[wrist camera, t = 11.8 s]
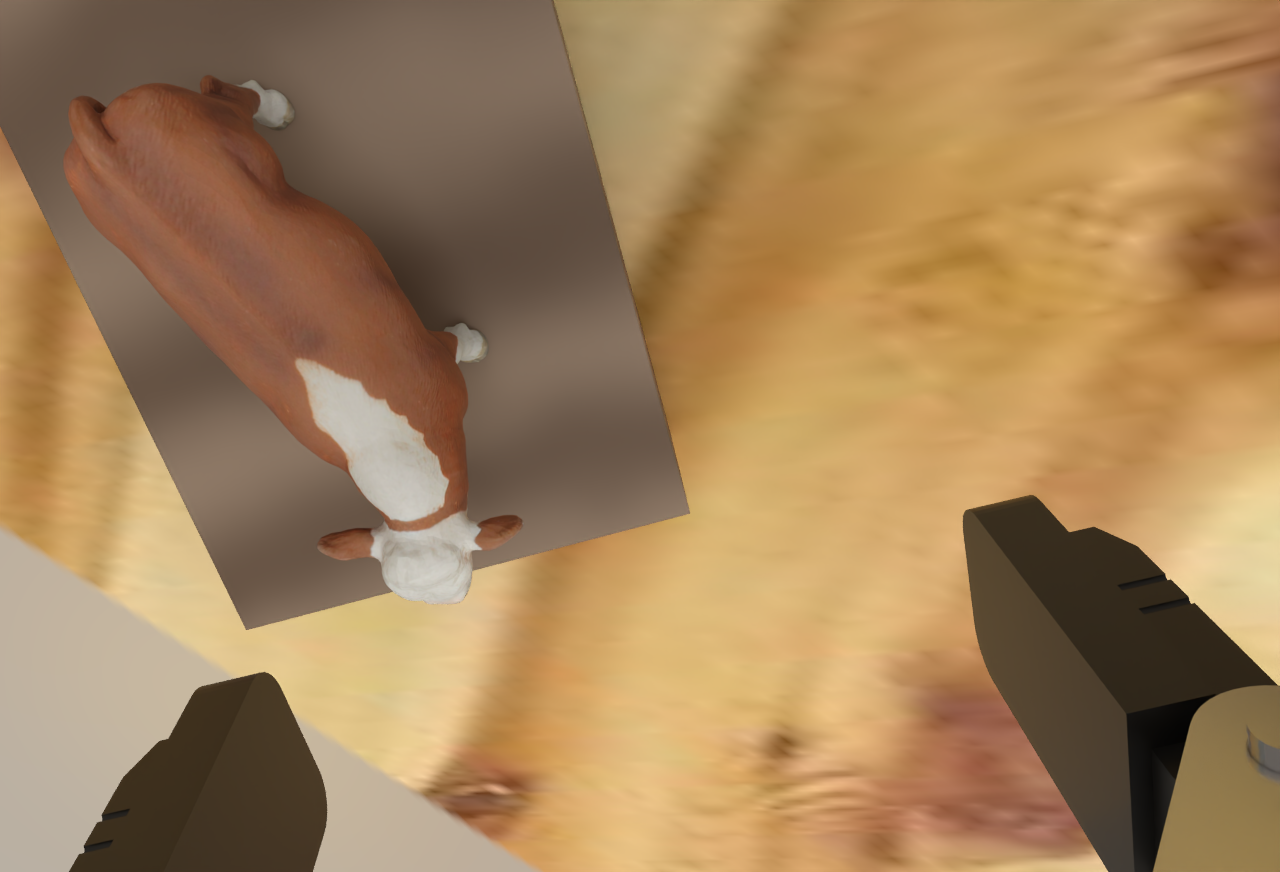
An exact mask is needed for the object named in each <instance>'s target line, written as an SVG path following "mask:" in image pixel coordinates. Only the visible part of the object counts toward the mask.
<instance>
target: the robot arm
mask: <svg viewBox="0 0 1280 872" xmlns="http://www.w3.org/2000/svg"><path fill="white" fill-rule="evenodd" d="M963 533H964V541H965V550H966V558H967V566H968V574H969V583H970V591H971V599H972V607H973V616H974V623H975V630H976V635H977V639H978V643H979V646H980V650H981V653H982V656H983V659H984V662H985V664H986V667H987V669H988V672H989V674H990V676H991V678H992V680H993V682H994V683H995V685H996V687H997V688H998V690H999V692H1000V693H1001V695H1002V697H1003V698H1004V700H1005V702H1006V703H1007V705H1008V706H1009V708H1010V710H1011V711H1012V713H1013V715H1014V716H1015V718H1016V720H1017V721H1018V723H1019V725H1020V726H1021V728H1022V730H1023V731H1024V733H1025V735H1026V736H1027V738H1028V740H1029V741H1030V743H1031V745H1032V746H1033V748H1034V749H1035V751H1036V753H1037V754H1038V756H1039V758H1040V759H1041V761H1042V763H1043V764H1044V766H1045V768H1046V769H1047V771H1048V773H1049V774H1050V776H1051V778H1052V779H1053V781H1054V783H1055V784H1056V786H1057V788H1058V789H1059V791H1060V792H1061V794H1062V796H1063V797H1064V799H1065V801H1066V802H1067V804H1068V806H1069V807H1070V809H1071V811H1072V812H1073V814H1074V816H1075V817H1076V819H1077V821H1078V822H1079V824H1080V826H1081V827H1082V829H1083V830H1084V832H1085V834H1086V835H1087V837H1088V839H1089V840H1090V842H1091V844H1092V845H1093V847H1094V849H1095V850H1096V852H1097V854H1098V855H1099V857H1100V859H1101V860H1102V862H1103V864H1104V865H1105V867H1106V869H1107V870H1108V872H1280V686H1278V685H1277V684H1276V683H1275V682H1274V681H1273V680H1272V679H1271V678H1270V677H1269V676H1268V675H1267V674H1266V673H1265V672H1264V671H1263V670H1262V669H1261V668H1260V667H1259V666H1258V665H1257V664H1256V663H1255V662H1254V661H1253V660H1252V659H1251V658H1250V657H1249V656H1248V655H1247V654H1246V653H1245V652H1244V651H1243V650H1242V649H1241V648H1240V647H1239V646H1238V645H1237V644H1236V643H1235V642H1234V641H1232V640H1231V639H1230V638H1229V637H1228V636H1227V635H1226V634H1225V633H1224V632H1223V631H1222V630H1221V629H1220V628H1219V627H1218V626H1217V625H1216V624H1215V623H1214V622H1213V621H1212V620H1211V619H1210V618H1209V617H1208V616H1207V615H1206V614H1205V613H1204V612H1203V611H1202V610H1201V609H1200V608H1199V607H1198V606H1197V605H1196V604H1195V603H1193V604H1191V603H1190V601H1189V597H1188V596H1187V595H1186V594H1185V593H1184V592H1183V591H1182V590H1181V589H1180V588H1179V587H1178V586H1177V585H1176V584H1175V583H1174V582H1173V581H1172V580H1167V579H1166V576H1165V573H1164V572H1163V571H1162V570H1161V569H1160V568H1159V567H1158V566H1157V565H1156V564H1155V563H1154V562H1153V561H1152V560H1151V559H1150V558H1149V557H1148V556H1147V555H1146V554H1145V553H1144V552H1143V551H1142V550H1141V549H1140V548H1139V547H1137V546H1136V545H1133V544H1131V543H1129V542H1127V541H1125V540H1122V539H1120V538H1118V537H1116V536H1113V535H1111V534H1109V533H1107V532H1105V531H1102V530H1100V529H1098V528H1096V527H1091V528H1087V529H1082V530H1078V531H1074V532H1068V531H1067V530H1066V528H1065V527H1064V526H1063V525H1062V524H1061V523H1060V522H1059V521H1058V520H1057V519H1056V517H1055V516H1054V515H1053V514H1052V513H1051V512H1050V511H1049V510H1048V509H1047V508H1046V507H1045V505H1044V504H1043V503H1042V502H1041V501H1040V500H1039V499H1038V498H1037V497H1035V496H1034V495H1029V496H1024V497H1020V498H1016V499H1011V500H1007V501H1003V502H999V503H994V504H990V505H986V506H981V507H977V508H973V509H969V510H966V511H965V512H964V515H963ZM326 821H327V800H326V792H325V787H324V783H323V779H322V776H321V774H320V771H319V769H318V767H317V765H316V763H315V760H314V759H313V756H312V754H311V752H310V750H309V747H308V745H307V743H306V741H305V739H304V737H303V734H302V733H301V730H300V728H299V726H298V724H297V722H296V719H295V717H294V715H293V713H292V711H291V709H290V706H289V704H288V702H287V700H286V698H285V696H284V694H283V691H282V689H281V687H280V685H279V684H278V682H277V681H276V679H275V678H274V677H273V676H272V675H270V674H269V673H266V672H262V673H257V674H253V675H249V676H244V677H240V678H236V679H231V680H227V681H223V682H219V683H215V684H210V685H206V686H202V687H200V688H198V689H197V690H196V691H195V692H194V693H193V695H192V696H191V699H190V700H189V702H188V704H187V705H186V707H185V709H184V711H183V713H182V715H181V717H180V718H179V720H178V722H177V724H176V726H175V728H174V729H173V731H172V733H171V735H170V737H169V739H166V740H162V741H159V742H158V743H157V744H156V745H155V746H154V747H153V748H152V749H151V750H150V751H149V752H148V753H147V754H146V755H145V756H144V757H143V758H142V759H141V760H140V761H139V762H138V763H137V764H136V765H135V766H134V767H133V768H132V769H131V770H130V771H129V772H128V773H127V774H126V775H125V776H124V777H123V779H122V780H121V782H120V784H119V786H118V787H117V789H116V791H115V792H114V794H113V796H112V798H111V799H110V801H109V803H108V805H107V806H106V808H105V810H104V812H103V813H102V822H98V823H97V824H96V826H95V827H94V829H93V831H92V833H91V835H90V836H89V838H88V840H87V841H86V843H85V845H84V848H85V852H84V853H83V854H79V855H78V857H77V859H76V860H75V862H74V864H73V866H72V867H71V869H70V871H69V872H313V869H314V866H315V862H316V859H317V856H318V852H319V848H320V845H321V842H322V839H323V836H324V832H325V828H326Z"/></svg>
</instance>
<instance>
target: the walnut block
mask: <svg viewBox="0 0 1280 872" xmlns="http://www.w3.org/2000/svg"><path fill="white" fill-rule="evenodd" d="M206 75H211V76H213V77H215V78H217V79H219V80H221V81H222V82H225V83H230V84H232V85H242V84H244V83H246V82H248V81H250V80H254V81H256V82H257V83H258V84H259V85H260V86H261V87H262V88H263V89H264V90H270V89H273V90H276V91H278V92H280V93H282V94H283V95H285V96H286V97H287V98H288V99H289V101H290V102H291V103H292V105H293V107H294V111H295V117H294V120H293V121H292V122H291V123H290V124H289V125H288V126H287V127H286V128H285V129H283V130H281V131H276V130H272V129H270V128H268V127H266V126H265V125H262V124H260V123H259V122H258V121H257V120H256V119H255V118H252V120H253V124H254V130H255V131H256V132H257V133H259V134H260V135H261V136H262V137H263V138H264V139H265V140H266V141H267V142H268V143H269V144H270V146H271V147H272V149H273V150H274V152H275V154H276V155H277V157H278V159H279V161H280V163H281V166H282V168H283V173H284V177H285V180H286V182H287V183H288V184H289V185H290V186H291V187H293V188H294V189H296V190H298V191H300V192H301V193H303V194H305V195H307V196H309V197H312V198H315V199H317V200H319V201H321V202H323V203H325V204H327V205H328V206H330V207H332V208H334V209H335V210H337V211H339V212H340V213H342V214H343V215H345V216H346V217H348V218H349V219H350V220H351V221H353V222H354V223H355V224H356V225H357V226H358V227H359V228H360V229H361V230H362V231H363V232H364V233H365V234H366V235H367V236H368V237H369V238H370V240H371V241H372V242H373V244H374V245H375V246H376V248H377V249H378V251H379V252H380V253H381V255H382V257H383V258H384V260H385V262H386V263H387V265H388V267H389V268H390V270H391V272H392V274H393V276H394V278H395V280H396V282H397V284H398V285H399V287H400V288H401V290H402V291H403V293H404V294H405V296H406V297H407V299H408V300H409V302H410V303H411V305H412V307H413V308H414V310H415V312H416V313H417V315H418V317H419V318H420V320H421V322H422V324H423V325H424V327H425V329H427V330H430V331H444V329H445V328H446V327H454V326H456V325H457V324H459V323H463V324H466V326H467V327H468V329H469V330H472V329H474V330H479V331H480V332H481V333H483V334H484V335H485V336H486V338H487V340H488V345H489V351H488V354H487V356H486V357H485V358H484V359H482V360H481V361H479V362H474V363H466V362H462V361H459V363H458V364H457V365H458V367H459V368H460V370H461V372H462V374H463V377H464V380H465V383H466V388H467V393H468V408H467V411H466V414H465V416H464V418H463V431H464V434H465V439H466V458H467V473H468V482H469V489H468V496H467V508H468V509H467V517H468V519H469V520H471V521H474V522H480V521H484V520H487V519H489V518H492V517H497V516H502V515H517V516H518V517H519V518H521V519H522V520H523V523H524V525H523V526H522V528H521V530H520V531H519V532H518V533H517V534H516V535H515V536H514V537H513V538H512V539H510V540H509V541H507V542H506V543H504V544H503V545H501V546H500V547H498V548H496V549H493V550H490V551H481V550H473V551H472V564H473V568H472V571H473V570H477V569H481V568H484V567H488V566H492V565H496V564H500V563H503V562H507V561H511V560H515V559H519V558H522V557H526V556H530V555H534V554H538V553H541V552H545V551H549V550H553V549H557V548H560V547H564V546H568V545H572V544H576V543H579V542H583V541H587V540H591V539H595V538H599V537H602V536H606V535H610V534H614V533H618V532H621V531H625V530H629V529H633V528H637V527H640V526H644V525H648V524H652V523H656V522H659V521H663V520H667V519H671V518H675V517H678V516H682V515H686V514H690V511H689V507H688V503H687V499H686V495H685V491H684V487H683V483H682V478H681V474H680V470H679V466H678V462H677V458H676V454H675V450H674V446H673V442H672V438H671V434H670V430H669V426H668V423H667V419H666V415H665V412H664V408H663V404H662V401H661V397H660V393H659V389H658V386H657V382H656V378H655V375H654V371H653V367H652V364H651V360H650V356H649V352H648V349H647V345H646V341H645V338H644V334H643V330H642V327H641V323H640V319H639V315H638V312H637V308H636V304H635V301H634V297H633V293H632V289H631V286H630V282H629V278H628V275H627V271H626V267H625V264H624V260H623V256H622V252H621V249H620V245H619V241H618V238H617V234H616V230H615V227H614V223H613V219H612V215H611V212H610V208H609V204H608V201H607V197H606V193H605V190H604V186H603V182H602V178H601V175H600V171H599V167H598V164H597V160H596V156H595V152H594V149H593V145H592V141H591V138H590V134H589V130H588V127H587V123H586V119H585V115H584V112H583V108H582V104H581V101H580V97H579V93H578V90H577V86H576V82H575V78H574V75H573V71H572V67H571V64H570V60H569V56H568V53H567V49H566V45H565V41H564V38H563V34H562V30H561V27H560V23H559V19H558V15H557V12H556V8H555V4H554V1H553V0H0V127H1V129H2V131H3V133H4V135H5V137H6V139H7V141H8V143H9V145H10V147H11V149H12V151H13V153H14V155H15V157H16V159H17V161H18V164H19V166H20V168H21V170H22V172H23V174H24V176H25V178H26V180H27V182H28V184H29V186H30V188H31V190H32V192H33V194H34V196H35V198H36V200H37V202H38V204H39V207H40V209H41V211H42V213H43V215H44V217H45V219H46V221H47V223H48V225H49V227H50V229H51V231H52V233H53V235H54V237H55V239H56V241H57V243H58V245H59V247H60V250H61V252H62V254H63V256H64V258H65V260H66V262H67V264H68V266H69V268H70V270H71V272H72V274H73V276H74V278H75V280H76V282H77V284H78V286H79V288H80V290H81V293H82V295H83V297H84V299H85V301H86V303H87V305H88V307H89V309H90V311H91V313H92V315H93V317H94V319H95V321H96V323H97V325H98V327H99V329H100V331H101V333H102V336H103V338H104V340H105V342H106V344H107V346H108V348H109V350H110V352H111V354H112V356H113V358H114V360H115V362H116V364H117V366H118V368H119V370H120V372H121V374H122V376H123V379H124V381H125V383H126V385H127V387H128V389H129V391H130V393H131V395H132V397H133V399H134V401H135V403H136V405H137V407H138V409H139V411H140V413H141V415H142V417H143V419H144V421H145V424H146V426H147V428H148V430H149V432H150V434H151V436H152V438H153V440H154V442H155V444H156V446H157V448H158V450H159V452H160V454H161V456H162V458H163V460H164V462H165V464H166V467H167V469H168V471H169V473H170V475H171V477H172V479H173V481H174V483H175V485H176V487H177V489H178V491H179V493H180V495H181V497H182V499H183V501H184V503H185V505H186V507H187V510H188V512H189V514H190V516H191V518H192V520H193V522H194V524H195V526H196V528H197V530H198V532H199V534H200V536H201V538H202V540H203V542H204V544H205V546H206V548H207V550H208V553H209V555H210V557H211V559H212V561H213V563H214V565H215V567H216V569H217V571H218V573H219V575H220V577H221V579H222V581H223V583H224V585H225V587H226V589H227V591H228V593H229V596H230V598H231V600H232V602H233V604H234V606H235V608H236V610H237V612H238V614H239V616H240V618H241V620H242V622H243V624H244V626H245V628H246V630H249V629H252V628H256V627H260V626H264V625H268V624H271V623H275V622H279V621H283V620H287V619H290V618H294V617H298V616H302V615H306V614H309V613H313V612H317V611H321V610H325V609H328V608H332V607H336V606H340V605H344V604H347V603H351V602H355V601H359V600H363V599H366V598H370V597H374V596H378V595H382V594H385V593H389V592H393V591H392V590H391V589H390V588H389V587H388V586H387V585H386V583H385V581H384V579H383V575H382V566H381V562H380V561H379V560H378V559H376V558H371V557H364V558H357V559H351V560H347V561H346V560H337V559H334V558H332V557H329V556H327V555H325V554H323V553H322V552H320V551H319V549H318V548H317V543H318V542H319V540H320V539H321V537H323V536H325V535H328V534H330V533H334V532H341V531H344V530H348V529H353V528H377V527H379V526H381V525H382V524H383V522H384V519H385V518H384V517H383V516H382V515H381V514H380V512H379V511H378V510H377V509H376V508H375V506H373V505H372V504H371V503H370V502H369V501H368V500H367V499H366V498H365V497H364V496H363V495H362V494H361V493H360V492H359V491H358V489H357V487H356V485H355V483H354V482H353V481H352V479H351V478H350V477H349V475H348V474H347V472H345V471H343V470H342V469H340V468H339V467H337V466H334V465H332V464H329V463H328V462H326V461H324V460H322V459H321V458H319V457H318V456H317V455H315V454H314V453H313V452H311V451H310V450H309V449H307V448H306V447H305V446H304V445H302V444H301V443H300V442H299V441H298V440H297V439H296V438H295V437H294V436H293V435H292V434H291V433H290V432H289V431H288V429H287V428H286V427H285V426H284V425H283V424H282V423H281V421H280V420H279V419H278V418H277V417H276V416H275V414H274V413H273V412H272V411H271V410H270V409H269V408H268V407H267V406H266V405H265V404H264V403H263V401H262V400H261V399H260V398H259V397H258V396H256V395H255V394H254V393H253V392H252V391H251V390H250V389H249V388H248V387H247V386H246V385H245V384H244V383H243V382H242V381H241V380H240V379H239V378H238V377H237V376H236V375H235V374H234V373H233V372H232V371H231V370H230V369H229V367H228V366H227V365H226V364H225V363H224V362H223V361H222V360H221V359H220V358H219V357H218V356H216V355H215V354H214V353H213V352H212V351H211V350H210V349H209V348H208V347H207V346H206V345H205V344H204V343H203V342H202V340H201V339H200V338H199V337H198V336H197V335H196V334H195V333H194V332H193V330H192V329H191V328H190V327H189V326H188V324H187V323H186V322H185V321H184V320H183V319H182V318H181V317H180V316H179V315H178V314H177V313H176V312H175V311H174V310H173V309H172V308H171V307H170V306H169V305H168V303H167V302H166V301H165V300H164V299H163V298H162V297H161V296H160V294H159V293H158V292H157V291H156V289H155V288H154V287H153V286H152V284H151V283H150V282H149V281H148V280H147V278H146V277H145V276H144V275H143V273H142V272H141V271H140V270H139V269H138V268H137V266H136V265H135V264H134V263H133V262H132V261H131V260H130V259H129V258H128V257H127V256H126V255H125V254H124V253H123V252H122V251H121V250H119V249H118V248H117V247H116V246H115V245H113V244H112V243H111V242H110V241H108V240H107V239H106V238H105V237H104V236H103V235H102V234H101V233H100V232H99V231H98V230H97V229H96V228H95V227H94V226H93V225H92V223H91V222H90V221H89V219H88V218H87V216H86V215H85V213H84V211H83V209H82V207H81V205H80V203H79V201H78V200H77V198H76V196H75V194H74V192H73V191H72V189H71V187H70V185H69V183H68V181H67V179H66V176H65V172H64V168H63V158H64V154H65V152H66V150H67V149H68V147H69V146H70V144H71V142H72V140H73V138H74V136H73V134H72V130H71V126H70V123H69V115H68V112H69V106H70V102H71V101H72V99H74V98H76V97H78V96H82V95H83V96H89V97H92V98H93V99H95V100H97V101H99V102H101V103H102V104H103V105H104V106H105V107H106V108H107V106H108V105H109V104H110V103H111V102H112V101H113V100H114V99H115V98H117V97H118V96H120V95H121V94H123V93H124V92H126V91H127V90H129V89H131V88H134V87H137V86H140V85H143V84H150V83H167V84H171V85H175V86H179V87H183V88H186V89H189V90H192V91H194V92H197V93H200V94H201V90H200V81H201V79H202V78H203V77H204V76H206Z"/></svg>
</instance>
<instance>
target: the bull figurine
mask: <svg viewBox="0 0 1280 872" xmlns="http://www.w3.org/2000/svg"><path fill="white" fill-rule="evenodd" d="M200 90H201V94H200V93H197V92H194V91H192V90H189V89H186V88H183V87H179V86H175V85H171V84H167V83H150V84H143V85H140V86H137V87H134V88H131V89H129V90H127V91H126V92H124V93H123V94H121V95H120V96H118V97H117V98H115V99H114V100H113V101H112V102H111V103H110V104H109V105H108V106H107V108H106V107H105V106H104V105H103V104H102V103H101V102H99V101H97V100H95V99H93V98H92V97H89V96H83V95H82V96H78V97H76V98H74V99H72V101H71V102H70V106H69V112H68V115H69V123H70V126H71V130H72V134H73V136H74V138H73V140H72V142H71V144H70V146H69V147H68V149H67V150H66V152H65V154H64V158H63V168H64V172H65V176H66V179H67V181H68V183H69V185H70V187H71V189H72V191H73V192H74V194H75V196H76V198H77V200H78V201H79V203H80V205H81V207H82V209H83V211H84V213H85V215H86V216H87V218H88V219H89V221H90V222H91V223H92V225H93V226H94V227H95V228H96V229H97V230H98V231H99V232H100V233H101V234H102V235H103V236H104V237H105V238H106V239H107V240H108V241H110V242H111V243H112V244H113V245H115V246H116V247H117V248H118V249H119V250H121V251H122V252H123V253H124V254H125V255H126V256H127V257H128V258H129V259H130V260H131V261H132V262H133V263H134V264H135V265H136V266H137V268H138V269H139V270H140V271H141V272H142V273H143V275H144V276H145V277H146V278H147V280H148V281H149V282H150V283H151V284H152V286H153V287H154V288H155V289H156V291H157V292H158V293H159V294H160V296H161V297H162V298H163V299H164V300H165V301H166V302H167V303H168V305H169V306H170V307H171V308H172V309H173V310H174V311H175V312H176V313H177V314H178V315H179V316H180V317H181V318H182V319H183V320H184V321H185V322H186V323H187V324H188V326H189V327H190V328H191V329H192V330H193V332H194V333H195V334H196V335H197V336H198V337H199V338H200V339H201V340H202V342H203V343H204V344H205V345H206V346H207V347H208V348H209V349H210V350H211V351H212V352H213V353H214V354H215V355H216V356H218V357H219V358H220V359H221V360H222V361H223V362H224V363H225V364H226V365H227V366H228V367H229V369H230V370H231V371H232V372H233V373H234V374H235V375H236V376H237V377H238V378H239V379H240V380H241V381H242V382H243V383H244V384H245V385H246V386H247V387H248V388H249V389H250V390H251V391H252V392H253V393H254V394H255V395H256V396H258V397H259V398H260V399H261V400H262V401H263V403H264V404H265V405H266V406H267V407H268V408H269V409H270V410H271V411H272V412H273V413H274V414H275V416H276V417H277V418H278V419H279V420H280V421H281V423H282V424H283V425H284V426H285V427H286V428H287V429H288V431H289V432H290V433H291V434H292V435H293V436H294V437H295V438H296V439H297V440H298V441H299V442H300V443H301V444H302V445H304V446H305V447H306V448H307V449H309V450H310V451H311V452H313V453H314V454H315V455H317V456H318V457H319V458H321V459H322V460H324V461H326V462H328V463H329V464H332V465H334V466H337V467H339V468H340V469H342V470H343V471H345V472H347V474H348V475H349V477H350V478H351V479H352V481H353V482H354V483H355V485H356V487H357V489H358V491H359V492H360V493H361V494H362V495H363V496H364V497H365V498H366V499H367V500H368V501H369V502H370V503H371V504H372V505H373V506H375V508H376V509H377V510H378V511H379V512H380V514H381V515H382V516H383V517H384V518H385V519H384V522H383V524H382V525H381V526H379V527H377V528H353V529H348V530H344V531H341V532H334V533H330V534H328V535H325V536H323V537H321V539H320V540H319V542H318V543H317V548H318V549H319V551H320V552H322V553H323V554H325V555H327V556H329V557H332V558H334V559H337V560H346V561H347V560H351V559H357V558H364V557H371V558H376V559H378V560H379V561H380V562H381V566H382V575H383V579H384V581H385V583H386V585H387V586H388V587H389V588H390V589H391V590H392V591H393V592H394V593H395V594H397V595H399V596H400V597H402V598H405V599H407V600H411V601H422V600H423V601H424V602H425V603H428V604H455V603H460V602H461V601H462V600H464V598H465V596H466V594H467V592H468V590H469V588H470V584H471V579H472V568H473V564H472V551H473V550H481V551H490V550H493V549H496V548H498V547H500V546H501V545H503V544H504V543H506V542H507V541H509V540H510V539H512V538H513V537H514V536H515V535H516V534H517V533H518V532H519V531H520V530H521V528H522V526H523V525H524V523H523V520H522V519H521V518H519V517H518V516H517V515H502V516H497V517H492V518H489V519H487V520H484V521H480V522H474V521H471V520H469V519H468V517H467V509H468V508H467V496H468V489H469V482H468V473H467V458H466V439H465V434H464V431H463V418H464V416H465V414H466V411H467V408H468V393H467V388H466V383H465V380H464V377H463V374H462V372H461V370H460V368H459V367H458V365H457V364H458V363H459V361H462V362H466V363H474V362H479V361H481V360H482V359H484V358H485V357H486V356H487V354H488V351H489V345H488V340H487V338H486V336H485V335H484V334H483V333H481V332H480V331H479V330H474V329H472V330H469V329H468V327H467V326H466V324H463V323H459V324H457V325H456V326H454V327H446V328H445V329H444V331H430V330H427V329H425V327H424V325H423V324H422V322H421V320H420V318H419V317H418V315H417V313H416V312H415V310H414V308H413V307H412V305H411V303H410V302H409V300H408V299H407V297H406V296H405V294H404V293H403V291H402V290H401V288H400V287H399V285H398V284H397V282H396V280H395V278H394V276H393V274H392V272H391V270H390V268H389V267H388V265H387V263H386V262H385V260H384V258H383V257H382V255H381V253H380V252H379V251H378V249H377V248H376V246H375V245H374V244H373V242H372V241H371V240H370V238H369V237H368V236H367V235H366V234H365V233H364V232H363V231H362V230H361V229H360V228H359V227H358V226H357V225H356V224H355V223H354V222H353V221H351V220H350V219H349V218H348V217H346V216H345V215H343V214H342V213H340V212H339V211H337V210H335V209H334V208H332V207H330V206H328V205H327V204H325V203H323V202H321V201H319V200H317V199H315V198H312V197H309V196H307V195H305V194H303V193H301V192H300V191H298V190H296V189H294V188H293V187H291V186H290V185H289V184H288V183H287V182H286V180H285V177H284V173H283V168H282V166H281V163H280V161H279V159H278V157H277V155H276V154H275V152H274V150H273V149H272V147H271V146H270V144H269V143H268V142H267V141H266V140H265V139H264V138H263V137H262V136H261V135H260V134H259V133H257V132H256V131H255V130H254V124H253V120H252V118H255V119H256V120H257V121H258V122H259V123H260V124H262V125H265V126H266V127H268V128H270V129H272V130H276V131H281V130H283V129H285V128H286V127H287V126H288V125H289V124H290V123H291V122H292V121H293V120H294V117H295V111H294V107H293V105H292V103H291V102H290V101H289V99H288V98H287V97H286V96H285V95H283V94H282V93H280V92H278V91H276V90H273V89H270V90H264V89H263V88H262V87H261V86H260V85H259V84H258V83H257V82H256V81H254V80H250V81H248V82H246V83H244V84H242V85H232V84H230V83H225V82H222V81H221V80H219V79H217V78H215V77H213V76H211V75H206V76H204V77H203V78H202V79H201V81H200Z"/></svg>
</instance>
